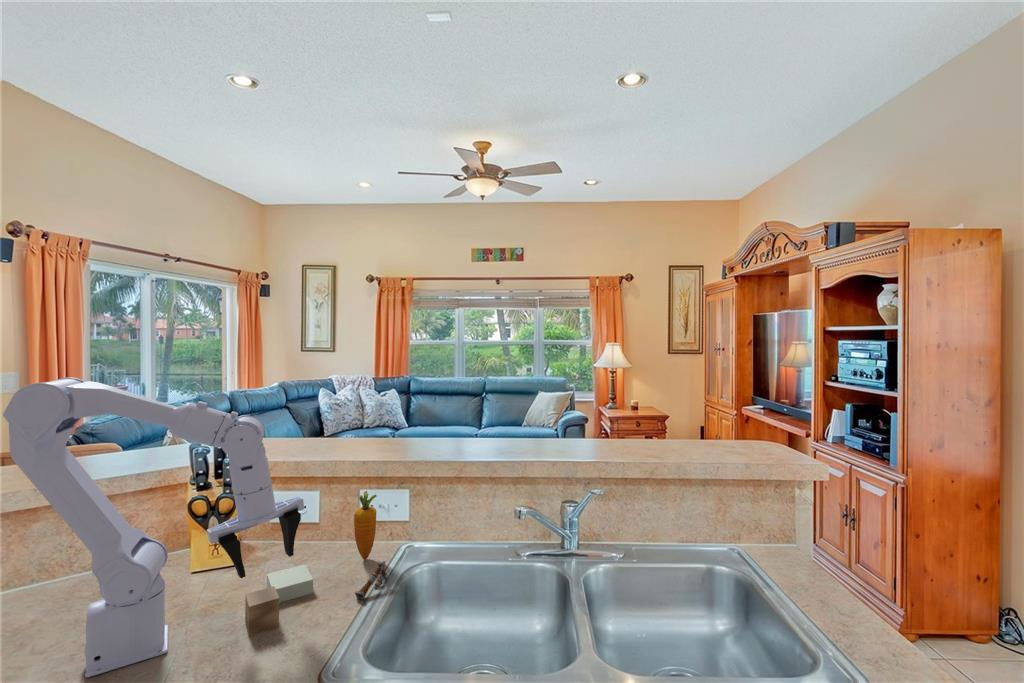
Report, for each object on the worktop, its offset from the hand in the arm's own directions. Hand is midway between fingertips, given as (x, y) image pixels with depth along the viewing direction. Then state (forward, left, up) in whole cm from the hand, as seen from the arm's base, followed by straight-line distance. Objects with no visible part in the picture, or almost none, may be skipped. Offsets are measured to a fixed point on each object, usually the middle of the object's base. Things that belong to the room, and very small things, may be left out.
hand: (266, 564), depth 80 cm
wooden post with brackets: (+18, 0, -10) cm, 21 cm away
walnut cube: (-1, 0, -10) cm, 10 cm away
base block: (+5, +9, -10) cm, 15 cm away
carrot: (+21, +13, -10) cm, 27 cm away
